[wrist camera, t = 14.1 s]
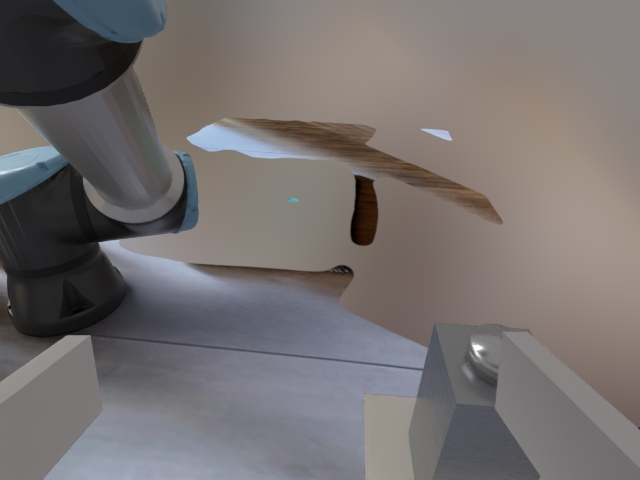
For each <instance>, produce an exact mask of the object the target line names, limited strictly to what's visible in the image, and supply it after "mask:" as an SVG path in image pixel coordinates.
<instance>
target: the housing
mask: <svg viewBox="0 0 640 480" xmlns="http://www.w3.org/2000/svg"><path fill="white" fill-rule="evenodd" d="M503 332H528V333H529V334H530V335H532V334H531V332H530V330H529V329H516V328H509V327H506V326H503V325H499V324H483V325H480V326H474V325H461V324H446V323H434V327H433V331H432V335H431V339H430V344H429V348H428V352H427V356H426V360H425V365H424V369H423V373H422V377H421V382H420V386H419V390H418V394H417V399H416V403H415V407H414V411H413V415H412V420H411V424H410V428H409V432H408V436H409V443H410V451H411V458H412V466H413V473H414V480H539V478H540V477H541V476H540V475H539V473H538V472H537V470H536V469H535V467H534V466H533V464H532V463H531V461H530V460H529V458H528V457H527V455H526V454H525V452H524V451H523V449H522V448H521V446H520V445H519V444H518V442H517V441H516V439H515V438H514V436H513V435H512V433H511V432H510V430H509V429H508V427H507V426H506V424H505V423H504V421H503V420H502V418H501V417H500V415H499V414H498V412H497V411H496V409H495V402H496V392H497V382H498V373H499V363H500V353H501V344H502V334H503ZM532 336H533V335H532Z"/></svg>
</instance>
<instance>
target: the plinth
mask: <svg viewBox="0 0 640 480" xmlns="http://www.w3.org/2000/svg"><path fill="white" fill-rule="evenodd" d="M416 399H417V398H415V397H402V396H390V395H377V394H364V399H363V404H364V435H365V466H366V480H414V473H413V466H412V458H411V451H410V443H409V436H408V432H409V428H410V424H411V420H412V415H413V411H414V407H415V403H416ZM539 480H542V479H541V477H540V478H539Z"/></svg>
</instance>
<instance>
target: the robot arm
mask: <svg viewBox="0 0 640 480" xmlns="http://www.w3.org/2000/svg"><path fill="white" fill-rule="evenodd" d="M166 19H167V6H166V0H0V106H6V107H11V108H14V109H15V110H17V112H18V113H19V114H20V115H21V116H23V118H25V119H26V121H27V122H28V123H29V124H30V125H32V127H34V129H36V130H37V131H38V132H39V133H40V134H41V135H42V136H43V137H44V138H45V139H46V140H47V141H48V142H49V143H50V144H51V145H52V146H45V147H38V148H32V149H27V150H22V151H18V152H14V153H10V154H7V155H3V156H0V262H1V263H2V265H3V268H4V270H5V272H6V274H7V289H8V297H9V300H8V304H7V310H8V314H9V316H10V318H11V320H12V322H13V324H14V326H15V327H16V328H17V329H18V330H19V331H20V332H22V333H25V334H28V335H33V336H53V335H60V334H65V333H69V332H72V331H76V330H79V329H81V328H84V327H87V326H89V325H91V324H93V323H95V322H97V321H99V320H101V319H102V318H104V317H105V316H107V315H108V314H110V313H111V312H112V311H113V310H114V309H115V308H116V307H117V306H118V305H119V304H120V303H121V302H122V300H123V298H124V296H125V293H126V287H125V283H124V280H123V277H122V274H121V273H120V271H119V270H118V269H117V268H116V267H114V266H113V265H112V263H111V262H110V260H109V259H108V257H107V256H106V255H105V253H104V252H103V251H102V250H101V248H100V245H99V242H104V241H110V240H118V239H126V238H135V237H143V236H151V235H159V234H167V233H174V234H176V233H179V232H180V231H186V230H190V229H192V228H194V227H195V226H196V224H197V222H198V213H199V211H198V191H197V183H196V176H195V170H194V165H193V162H192V160H191V157H190V155H189V154H187V153H185V152H178V151H172V150H171V149H169V148H168V147H167V146H166V145H165V144H163V143H161V142H160V139H159V136H158V133H157V130H156V127H155V124H154V121H153V118H152V115H151V112H150V109H149V106H148V103H147V100H146V97H145V94H144V92H143V89H142V86H141V83H140V80H139V77H138V74H137V71H136V68H135V65H134V64H135V61H136V60H137V58H138V56H139V54H140V51H141V48H142V45H143V40H144V38H149V37H153V36H155V35H157V34H158V33H159V32H160V31H162V30H163V29H164V27H165V24H166ZM495 409H496V411H497V412H498V414H499V415H500V417H501V418H502V420H503V421H504V423H505V424H506V426H507V427H508V429H509V430H510V432H511V433H512V435H513V436H514V438H515V439H516V441H517V442H518V444H519V445H520V446H521V448H522V449H523V451H524V452H525V454H526V455H527V457H528V458H529V460H530V461H531V463H532V464H533V466H534V467H535V469H536V470H537V472H538V473H539V475H540V476H541V478H542V479H543V480H640V428H637V427H636V426H635V425H634V424H632V423H631V422H630V421H629V420H628V419H627V418H626V417H625V416H623V415H622V414H621V413H620V412H619V411H618V410H616V409H615V408H614V407H613V406H612V405H611V404H610V403H608V402H607V401H606V400H605V399H604V398H603V397H602V396H600V395H599V394H598V393H597V392H596V391H595V390H593V389H592V388H591V387H590V386H589V385H588V384H587V383H585V382H584V381H583V380H582V379H581V378H580V377H579V376H577V375H576V374H575V373H574V372H573V371H572V370H570V369H569V368H568V367H567V366H566V365H565V364H564V363H563V362H561V361H560V360H559V359H558V358H557V357H556V356H554V355H553V354H552V353H551V352H550V351H549V350H547V349H546V348H545V347H544V346H543V345H542V344H541V343H540V342H538V341H537V340H536V339H535V338H534V337H533V336H532V335H530V334H529V333H528V332H503V334H502V344H501V353H500V363H499V373H498V382H497V392H496V402H495ZM102 411H103V408H102V402H101V396H100V390H99V384H98V378H97V372H96V366H95V360H94V354H93V348H92V342H91V336H90V335H67V336H65V337H64V338H62V339H61V340H59V341H58V342H57V343H55V344H54V345H52V346H51V347H49V348H48V349H47V350H45V351H44V352H42V353H41V354H39V355H38V356H37V357H35V358H34V359H32V360H31V361H29V362H28V363H27V364H25V365H24V366H22V367H21V368H19V369H18V370H17V371H15V372H14V373H12V374H11V375H9V376H8V377H6V378H5V379H4V380H2V381H1V382H0V480H43V479H44V477H45V476H46V475H47V474H48V473H49V472H50V470H51V469H52V468H53V467H54V466H55V465H56V464H57V462H58V461H59V460H60V459H61V458H62V457H63V456H64V454H65V453H66V452H67V451H68V450H69V449H70V447H71V446H72V445H73V444H74V443H75V442H76V441H77V439H78V438H79V437H80V436H81V435H82V434H83V433H84V431H85V430H86V429H87V428H88V427H89V426H90V424H91V423H92V422H93V421H94V420H95V419H96V418H97V416H98V415H99V414H100V413H101V412H102Z"/></svg>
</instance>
